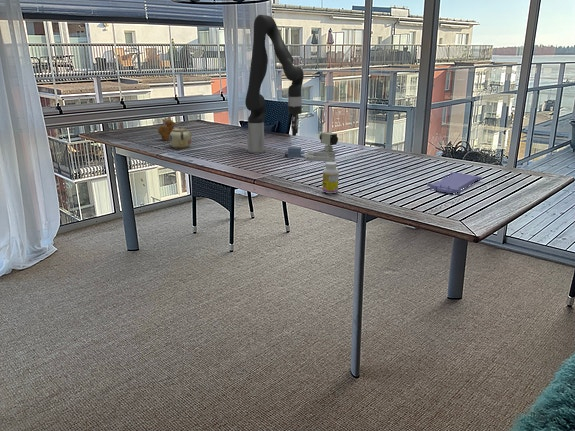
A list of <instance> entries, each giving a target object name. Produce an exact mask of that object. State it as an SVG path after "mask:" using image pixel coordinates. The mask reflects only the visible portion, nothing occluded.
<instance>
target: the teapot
mask: <svg viewBox="0 0 575 431" xmlns="http://www.w3.org/2000/svg"><path fill="white" fill-rule="evenodd" d="M177 127H178V128H177ZM177 127H176V128H175V129H173V131H172V132H171V133H170V135H169V143H170V145H171V146H172V147H173V149H176V150H185V149H188V148H189V147H190V146H191V144H192V141H193V138H192V134H191V132H190V131H189V130H188V129H187V128H186V127H185V128H184V127H182V125H178V126H177Z"/></svg>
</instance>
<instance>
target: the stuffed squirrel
mask: <svg viewBox="0 0 575 431" xmlns="http://www.w3.org/2000/svg"><path fill="white" fill-rule="evenodd" d="M164 123H165V125H162V126H160V127H158V128H157V132H158V134H159V135H160V136H161V140H162V141H164V142H170V140H169V135H170V133H171V132H172V131H173V129H175V128H174V126H177V124H176V122H174V120H172V119H168V120H164Z"/></svg>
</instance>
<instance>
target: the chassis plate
mask: <svg viewBox="0 0 575 431" xmlns="http://www.w3.org/2000/svg"><path fill="white" fill-rule="evenodd" d="M335 160H336V151H332V152H326V151H313V150H311V151H310V150H309V151H308V150H307V152H306V155H305V156H304V161H307V162H308V161H309V162H310V161H312V162H313V161H314V162H335Z"/></svg>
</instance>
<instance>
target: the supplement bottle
mask: <svg viewBox="0 0 575 431" xmlns="http://www.w3.org/2000/svg"><path fill="white" fill-rule="evenodd" d="M324 165H325V168H324V169H323V170H322V190H321V191H322V193H323V192H326V193H336V192H337V193H338V192H339V173H340V172H339V169H338V168H337V166H338V163H337V162H335V161H325V164H324ZM337 193H336V194H337Z"/></svg>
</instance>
